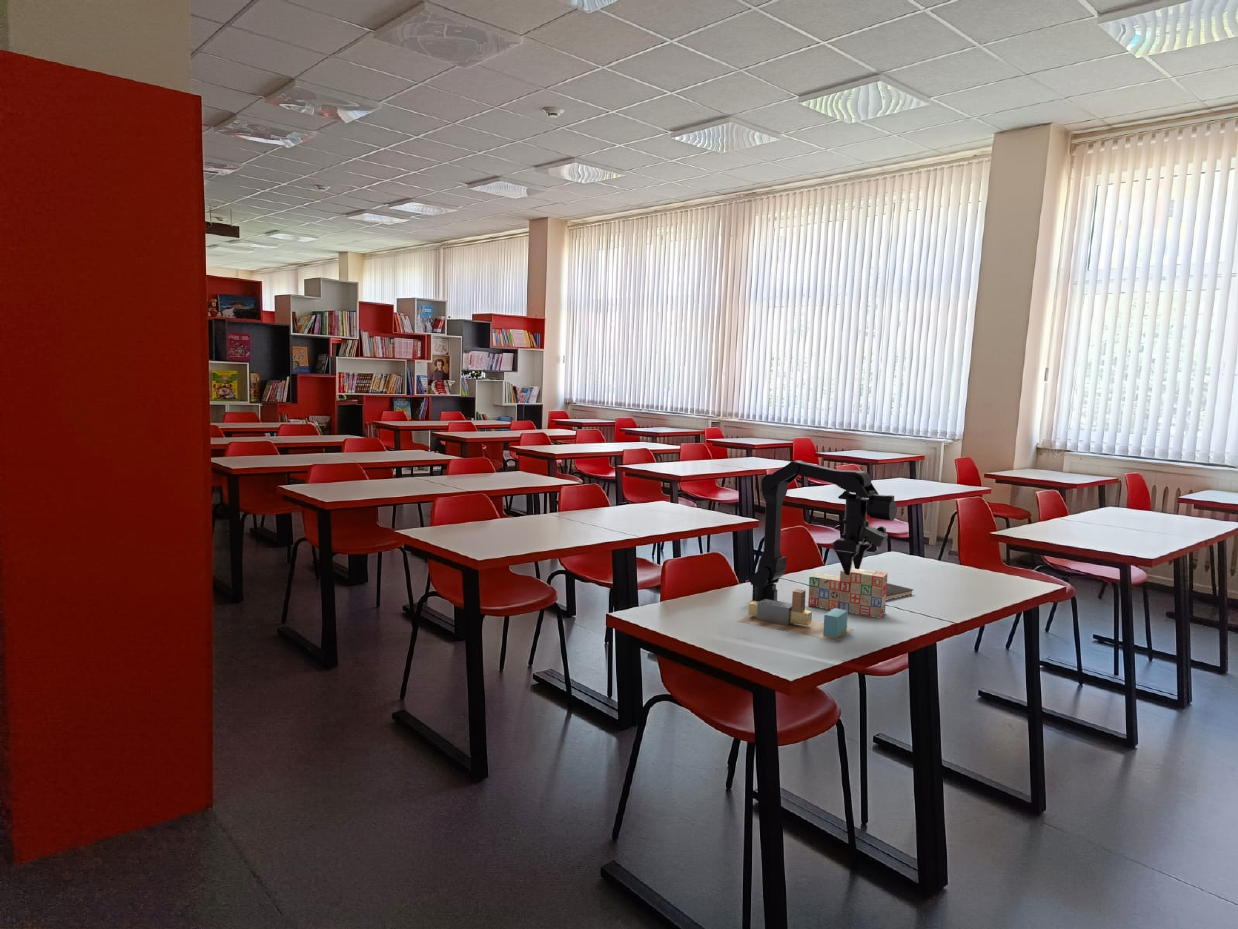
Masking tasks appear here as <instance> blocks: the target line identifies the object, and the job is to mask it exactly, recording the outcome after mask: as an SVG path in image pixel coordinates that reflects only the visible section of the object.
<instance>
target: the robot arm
mask: <svg viewBox="0 0 1238 929" xmlns="http://www.w3.org/2000/svg"><path fill="white" fill-rule="evenodd" d="M799 476H800V477H805V478H809V479H813V480H817V481H822V482H825V483H830V484H833V485H835V486H837V487H838V488H840V489H842V490H844V491H843V492H842V493H841V494H840V495H838V496H837V498H838V499H839V500H845V504H844V505H845V506H844V509H845V510H844V519H842V521H841V522H842V524H843V525H844V526H843V527H844V528H843V534H841V537H840V538H837V539H836V540H835V541H833V542H832V550H834V553H835V554H836V556H837V558H838V559H839V560H838V561H839V562H840V565H841V567H842V570H844V573H845V575H850V571H851V568H853V567H852V565H854V568H855V569H861V565H862V561H863V559H864V556H865V554H866V551H868V549H870V548H871V547H872V546H873V545H874V546H875V547H878V548H881V547H883V546H884V545H885V542H886V540H887V539H888V536H889V535H888V533H887V528H886V527H884V526H878V527H877V528H876V527H872V526H870V521H869V520H868V519H867V516H869V518H870V519H874V520H881V521H889V522H893V521H894V520H895V519H896V516H897V510H898V507H897V503H896V501H895V496H894V495H892V494H891V495H890V494H889V495H885V494H879V493H878V491H877V489H876V488H875V486H874V485H873V483H872V478H871V476H870V474H869V473H868V472H867V471H865V470H855V469H853V470H851V469H850V470H848V469H847V470H844V469H836V468H831V467H827V466H822V465H818V464H814V463H809V462H805V461H803V460H800V459H799V460H792V461H790V462H789V463H788V464H786V465H784V466H783V467H781V468H779V469H778V470H776V471H774V472H773V473H768V474H766V475H764V476H763V477H762V478H761V481H760V487H761V495H762V497H763V500H764V502H765V513H764V514H765V515H764V535H763V536H764V538H763V539H764V540H763V542H764V543H763V552H762V554H761V556H760V559H759V561H758V565H757V570H756V572H755V573H754V574H752V575H751V576H750V577H749V583H750V585H751V586H752V594H751V598H752V600H751V601H758V602H760V601H762V600H764V599H769V600H775V601H778V589H777V583H779V580H780V578H782V577H783V576H784V575H785V571H787V570H788V569H787V556H783V555H782V552H781V534H782V533H781V532H782V516H783V515H782V513H783V512H782V511H783V502H784V500H785V498H786V497H787V496H786V495H787V494H788V489H789V484H791V483H792V482H794V481H795V480H796V479H797V478H798V477H799ZM872 544H873V545H872Z"/></svg>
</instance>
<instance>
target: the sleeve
mask: <svg viewBox="0 0 1238 929" xmlns="http://www.w3.org/2000/svg"><path fill="white" fill-rule="evenodd" d="M790 609H792V602H785V601H780V600H777V601H775V600H769V599H764V600H762V601H760V602H758V607H757V620H758V621H763V622H768V623H773V624H778V625H783V626H790V625H791V624H793V623H790V622H789V614H790Z"/></svg>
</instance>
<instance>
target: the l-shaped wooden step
mask: <svg viewBox="0 0 1238 929" xmlns="http://www.w3.org/2000/svg"><path fill="white" fill-rule="evenodd" d="M791 600H792V601H791V603H792V609H790V614H789V622H790V623H795V624H800V625H806V626H808V625H809V624H811V621H813V620H812V619H813V618H812V614H813V611H811V610H807V609H806V590H805V589H799V588H796V589H794V590H793V591H792V597H791ZM757 607H758V601H753V600H751V602H748V615H754V616H757Z"/></svg>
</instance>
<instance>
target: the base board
mask: <svg viewBox="0 0 1238 929" xmlns="http://www.w3.org/2000/svg"><path fill="white" fill-rule="evenodd" d="M737 622H740V623H744V624H749V625H750V624H751V625H755V626H760V627H764V628H768V629H769V628H770V629H775V630H778V631H779V630H780V631H785V632H790V633H794V634H800V635H803V636H809V637H815V638H819V639H824V640H831V641H835V642H840V641H841V640H842V639H844V638H845V637H846V636H848V635H849V634H850V633H852V632H853V631H854V630H855V628H851V627H847V631H845V632H844V633H843V634H841V635H840V636H838V637H837V638H835V637H830V636H825V635H823V632H824V622H818V621H814V620H812V621H811V624H809V625H808V626H806V625H800V624H795V623H793V624H791V625H790V626H783V625H778V624H773V623H768V622H763V621H758V620H757V616H754V615H749V614H748V615H746V616H744V617H743V618H740V619H738V620H737Z"/></svg>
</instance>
